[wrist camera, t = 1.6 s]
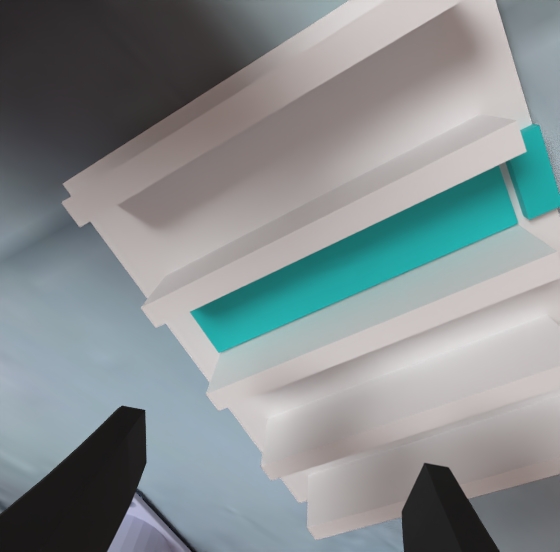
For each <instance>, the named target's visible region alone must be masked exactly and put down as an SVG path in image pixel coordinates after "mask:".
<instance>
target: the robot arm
mask: <svg viewBox="0 0 560 552" xmlns="http://www.w3.org/2000/svg"><path fill="white" fill-rule="evenodd" d="M145 465H146V423H145V410H142V409H137V408H132V407H126V406H121V407H119V408H118V409H117V410H116V411H115V412H114V413H113V414H112V415H111V416H110V417H109V418H108V419H107V420H106V421H105V422H104V423H103V424H102V425H101V426H100V427H99V428H98V429H97V430H96V431H95V432H93V433H92V434H91V435H90V436H89V437H88V438H87V439H86V440H85V441H84V442H83V443H82V444H81V445H80V446H79V447H78V448H77V449H76V450H74V451H73V452H72V453H71V454H70V455H69V456H68V457H67V458H66V459H64V460H63V461H62V462H61V463H60V464H59V465H58V466H57V467H56V468H54V469H53V470H52V471H51V472H50V473H49V474H48V475H47V476H45V477H44V478H43V479H42V480H41V481H40V482H39V483H37V484H36V485H35V486H34V487H32V488H31V489H30V490H29V491H28V492H26V493H25V494H24V495H23V496H22V497H20V498H19V499H18V500H17V501H16V502H14V503H13V504H12V505H11V506H10V507H8V508H7V509H6V510H5V511H3V512H2V513H1V514H0V552H191V551H190V550H189V549H188V547H187V546H186V545H185V544H184V543H183V542H182V541H181V540H180V539H179V538H178V537H177V536H176V535H175V534H174V533H173V531H172V530H171V529H170V528H169V527H168V526H167V525H166V524H165V523H164V522H163V521H162V520H161V519H160V518H159V517H158V515H157V514H156V513H155V512H154V511H153V510H152V509H151V508H150V507H149V506H148V505H147V504H146V503H145V502H144V501H143V500H142V498H141V497H140V496H139V495H138V494H137V493H136V489H137V487H138V484H139V481H140V479H141V476H142V473H143V471H144V468H145ZM402 529H403V544H404V552H500V551H499V549H498V548H497V546H496V545H495V543H494V542H493V540H492V538H491V537H490V535H489V533H488V532H487V530H486V529H485V527H484V525H483V524H482V522H481V520H480V519H479V517H478V515H477V514H476V512H475V510H474V509H473V507H472V505H471V504H470V502H469V500H468V499H467V497H466V495H465V493H464V492H463V490H462V488H461V487H460V485H459V483H458V482H457V480H456V478H455V477H454V475H453V473H452V472H451V470H450V469H449V467H445V466H440V465H434V464H429V463H424V464H423V467H422V469H421V471H420V473H419V475H418V477H417V479H416V482H415V484H414V486H413V488H412V490H411V492H410V494H409V496H408V499H407V501H406V503H405V505H404V507H403V509H402Z"/></svg>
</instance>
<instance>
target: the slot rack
mask: <svg viewBox="0 0 560 552" xmlns="http://www.w3.org/2000/svg"><path fill="white" fill-rule="evenodd" d="M63 185H64V187H65V188H66V190H67V191H68V192H69V194H70V195H71V197H69V198H68V199H66V200H65V201H63V202H61V203H62V204H63V206H64V207H65V208H66V210H67V211H68V212H69V214H70V215H71V216H72V218H73V219H74V220H75V222H76V223H77V224H78V226H79V227H81V226H83V225H85V224H86V223H88V222H91V223H92V225H93V226H94V227H95V229H96V230H97V231H98V233H99V234H100V235H101V237H102V238H103V239H104V241H105V242H106V243H107V245H108V246H109V247H110V249H111V250H112V252H113V253H114V254H115V256H116V257H117V258H118V260H119V261H120V262H121V264H122V265H123V266H124V268H125V269H126V270H127V272H128V273H129V274H130V276H131V277H132V278H133V280H134V281H135V283H136V284H137V285H138V287H139V288H140V289H141V291H142V292H143V293H144V295H145V296H146V297H147V300H146V302H145V303H144V304H143V305H142V307H141V309H142V310H143V312H144V313H145V314H146V316H147V317H148V318H149V319H150V321H151V322H152V323H153V325H154V326H155V327H156V328H157V327H159V326H161V325H163V324H165V323H166V324H167V326H168V327H169V328H170V330H171V331H172V332H173V334H174V335H175V336H176V338H177V339H178V341H179V342H180V343H181V345H182V346H183V347H184V349H185V350H186V351H187V353H188V354H189V355H190V357H191V358H192V359H193V361H194V362H195V363H196V365H197V366H198V367H199V369H200V370H201V372H202V373H203V374H204V376H205V377H206V378H207V380H208V381H209V382H210V384H209V387H208V390H207V393H206V395H207V396H208V398H209V399H210V400H211V402H212V403H213V404H214V405H215V407H216V408H217V409H218V411H220V410H222V409H225V408H229V409H230V411H231V412H232V413H233V415H234V416H235V417H236V419H237V420H238V421H239V423H240V424H241V425H242V427H243V428H244V429H245V431H246V432H247V434H248V435H249V436H250V438H251V439H252V440H253V442H254V443H255V444H256V446H257V447H258V448H259V450H260V451H261V452H262V460H261V468H262V469H263V470H264V472H265V473H266V474H267V476H268V477H269V478H270V480H271V481H272V480H275V479H278V478H281V479H282V481H283V482H284V483H285V485H286V486H287V487H288V489H289V490H290V491H291V493H292V494H293V496H294V497H295V498H296V500H297V501H298V502H299V503H301V502H305V501H308V502H307V529H308V530H309V531H310V533H311V534H312V535H313V536H314V538H315V539H316V540H318V539H322V538H326V537H330V536H333V535H337V534H341V533H344V532H348V531H352V530H355V529H359V528H363V527H367V526H370V525H374V524H378V523H381V522H385V521H389V520H392V519H396V518H400V517H402V509H403V507H404V505H405V503H406V501H407V499H408V496H409V494H410V492H411V490H412V488H413V486H414V484H415V482H416V479H417V477H418V475H419V473H420V471H421V469H422V467H423V464H424V463H429V464H434V465H440V466H445V467H449V469H450V470H451V472H452V473H453V475H454V477H455V478H456V480H457V482H458V483H459V485H460V487H461V488H462V490H463V492H464V493H465V495H466V497H467V499H470V498H474V497H477V496H481V495H485V494H488V493H492V492H496V491H500V490H503V489H507V488H511V487H514V486H518V485H522V484H525V483H529V482H533V481H537V480H540V479H544V478H548V477H551V476H555V475H559V474H560V216H559V212H558V209H557V208H558V207H560V195H559V191H558V188H557V185H556V181H555V178H554V174H553V171H552V167H551V164H550V161H549V157H548V154H547V150H546V147H545V143H544V140H543V137H542V133H541V130H540V126H539V125H534V124H532V121H531V118H530V115H529V111H528V108H527V105H526V101H525V98H524V95H523V91H522V88H521V84H520V81H519V78H518V74H517V71H516V68H515V64H514V61H513V58H512V54H511V51H510V47H509V44H508V41H507V37H506V34H505V31H504V27H503V24H502V21H501V17H500V14H499V11H498V7H497V4H496V0H349V1H348V2H346V3H345V4H343V5H341V6H340V7H338V8H337V9H335V10H334V11H332V12H330V13H329V14H327V15H326V16H324V17H323V18H321V19H320V20H318V21H316V22H315V23H313V24H312V25H310V26H309V27H307V28H305V29H304V30H302V31H301V32H299V33H298V34H296V35H294V36H293V37H291V38H290V39H288V40H287V41H285V42H284V43H282V44H280V45H279V46H277V47H276V48H274V49H273V50H271V51H269V52H268V53H266V54H265V55H263V56H262V57H260V58H258V59H257V60H255V61H254V62H252V63H251V64H249V65H248V66H246V67H244V68H243V69H241V70H240V71H238V72H237V73H235V74H233V75H232V76H230V77H229V78H227V79H226V80H224V81H222V82H221V83H219V84H218V85H216V86H215V87H213V88H212V89H210V90H208V91H207V92H205V93H204V94H202V95H201V96H199V97H197V98H196V99H194V100H193V101H191V102H190V103H188V104H187V105H185V106H183V107H182V108H180V109H179V110H177V111H176V112H174V113H172V114H171V115H169V116H168V117H166V118H165V119H163V120H161V121H160V122H158V123H157V124H155V125H154V126H152V127H151V128H149V129H147V130H146V131H144V132H143V133H141V134H140V135H138V136H136V137H135V138H133V139H132V140H130V141H129V142H127V143H125V144H124V145H122V146H121V147H119V148H118V149H116V150H115V151H113V152H111V153H110V154H108V155H107V156H105V157H104V158H102V159H100V160H99V161H97V162H96V163H94V164H93V165H91V166H89V167H88V168H86V169H85V170H83V171H82V172H80V173H79V174H77V175H75V176H74V177H72V178H71V179H69V180H68V181H66V182H64V183H63Z"/></svg>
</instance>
